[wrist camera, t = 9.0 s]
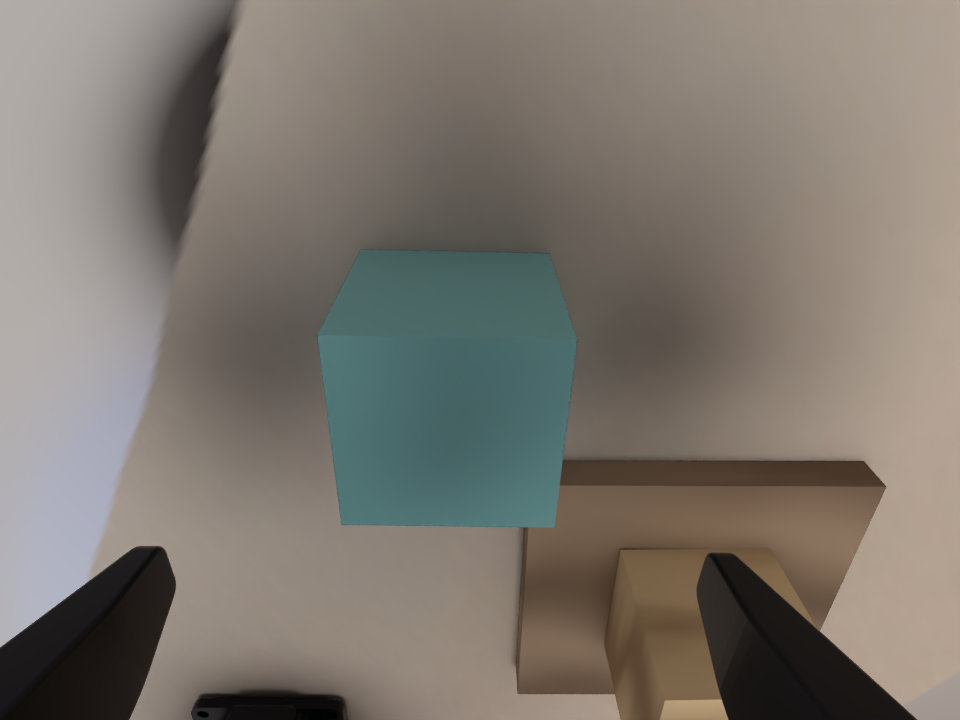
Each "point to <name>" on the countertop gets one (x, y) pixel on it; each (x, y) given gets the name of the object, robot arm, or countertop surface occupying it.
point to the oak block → (671, 632)
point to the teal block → (448, 388)
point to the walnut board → (676, 545)
